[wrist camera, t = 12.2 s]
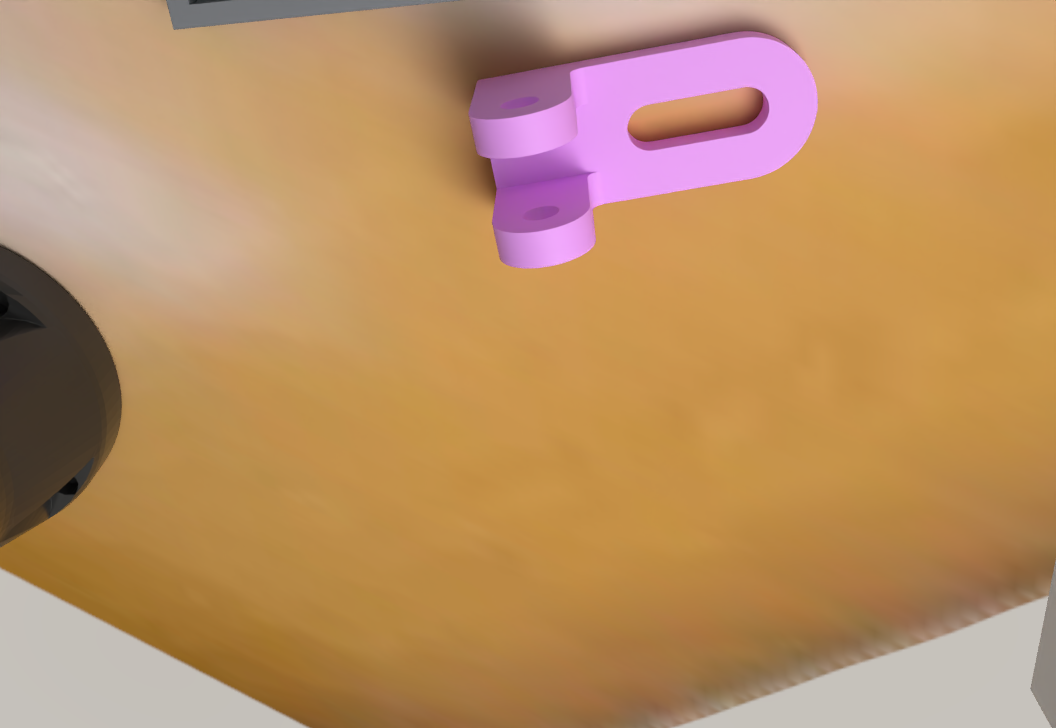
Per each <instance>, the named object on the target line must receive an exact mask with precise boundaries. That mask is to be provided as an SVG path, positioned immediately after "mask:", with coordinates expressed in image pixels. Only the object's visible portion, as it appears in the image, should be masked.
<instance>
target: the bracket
mask: <svg viewBox="0 0 1056 728" xmlns="http://www.w3.org/2000/svg"><path fill="white" fill-rule="evenodd" d="M742 87H753V88H756V89H758V90H760V91H761V92H762V94H763V106H762V109H761V112H760V113H759V115H758V116H757V117H756V118H755V119H754V120H753V121H752V122H750V123H748V124H745V125H741V126H736V127H730V128H725V129H719V130H713V131H708V132H702V133H696V134H691V135H685V136H679V137H674V138H668V139H662V140H657V141H651V142H643V141H639V140H637V139H635V138H634V137H632V136H631V135H630V133H629V132H628V130H627V126H628V122H629V119H630V117H631V115H632V114H633V113H634V112H635V111H636V110H637V109H638V108H640V107H642V106H644V105H648V104H654V103H659V102H665V101H670V100H676V99H681V98H687V97H693V96H698V95H704V94H709V93H715V92H720V91H726V90H731V89H737V88H742ZM817 103H818V100H817V90H816V85H815V81H814V78H813V76H812V74H811V71H810V70H809V68H808V66H807V65H806V63H805V62H804V61H803V59H802V58H801V57H800V56H799V55H798V54H797V53H796V52H795V51H794V50H793V49H791V48H790V47H789V46H788V45H787V44H786V43H784V42H783V41H781V40H779V39H778V38H775V37H773V36H771V35H768V34H765V33H761V32H754V31H740V32H733V33H727V34H722V35H717V36H711V37H706V38H701V39H695V40H690V41H685V42H679V43H674V44H669V45H663V46H658V47H653V48H647V49H642V50H637V51H631V52H626V53H621V54H615V55H610V56H605V57H599V58H594V59H588V60H583V61H578V62H572V63H567V64H562V65H556V66H551V67H546V68H540V69H535V70H530V71H524V72H519V73H514V74H508V75H503V76H498V77H492V78H487V79H482V80H477V84H476V87H475V91H474V95H473V98H472V102H471V105H470V109H469V118H470V123H471V127H472V132H473V137H474V141H475V146H476V151H477V153H478V154H479V155H480V156H482V157H486V158H490V159H491V164H492V169H493V174H494V178H495V183H496V188H497V192H496V199H495V206H494V213H493V220H492V224H493V229H494V234H495V238H496V243H497V248H498V252H499V257H500V260H501V261H502V262H503V263H505V264H506V265H509V266H512V267H517V268H540V267H548V266H553V265H557V264H561V263H564V262H567V261H570V260H573V259H575V258H577V257H580V256H581V255H583V254H585V253H586V252H588V251H589V250H590V249H591V248H592V247H593V246H594V244H595V242H596V237H595V228H594V219H593V208H595V207H596V206H598V205H601V204H606V203H612V202H618V201H623V200H629V199H635V198H641V197H647V196H653V195H658V194H664V193H670V192H676V191H682V190H688V189H693V188H699V187H705V186H711V185H717V184H722V183H728V182H734V181H740V180H746V179H752V178H756V177H760V176H763V175H766V174H768V173H770V172H773V171H774V170H776V169H778V168H780V167H781V166H783V165H784V164H786V163H787V162H788V161H789V160H790V159H792V158H793V157H794V156H795V155H796V154H797V152H798V151H799V150H800V149H801V148H802V146H803V145H804V143H805V142H806V140H807V139H808V137H809V135H810V133H811V130H812V128H813V125H814V122H815V118H816V113H817Z"/></svg>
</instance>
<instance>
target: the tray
mask: <svg viewBox="0 0 1056 728" xmlns="http://www.w3.org/2000/svg"><path fill="white" fill-rule="evenodd" d="M166 1H167V5H168V9H169V13H170V17H171V21H172V24H173V28H174V30H176V29H185V28H195V27H205V26H215V25H224V24H234V23H244V22H254V21H263V20H273V19H283V18H293V17H302V16H312V15H322V14H332V13H341V12H351V11H361V10H371V9H380V8H390V7H400V6H410V5H419V4H429V3H439V2H449V1H458V0H166Z"/></svg>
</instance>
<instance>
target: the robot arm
mask: <svg viewBox="0 0 1056 728" xmlns="http://www.w3.org/2000/svg"><path fill="white" fill-rule="evenodd" d="M121 408H122V404H121V391H120V384H119V379H118V375H117V372H116V368H115V365H114V362H113V360H112V357H111V354H110V352H109V350H108V348H107V346H106V344H105V342H104V340H103V338H102V337H101V335H100V333H99V331H98V330H97V328H96V327H95V325H94V324H93V322H92V321H91V320H90V318H89V317H88V316H87V314H86V313H85V312H84V310H83V309H82V308H81V307H80V306H79V305H78V303H77V302H76V301H75V300H74V299H73V298H72V297H71V296H70V295H69V294H68V293H67V292H66V291H65V290H64V289H63V288H62V287H61V286H60V285H58V284H57V283H56V282H55V281H54V280H52V279H51V278H50V277H49V276H48V275H46V274H45V273H44V272H42V271H41V270H39V269H38V268H37V267H35V266H34V265H32V264H31V263H29V262H28V261H26V260H24V259H23V258H21V257H19V256H17V255H16V254H14V253H12V252H10V251H8V250H6V249H4V248H2V247H0V547H2V546H4V545H5V544H7V543H9V542H10V541H12V540H14V539H15V538H17V537H19V536H20V535H22V534H24V533H25V532H27V531H29V530H30V529H32V528H34V527H35V526H37V525H39V524H40V523H42V522H44V521H46V520H47V519H49V518H50V517H52V516H54V515H55V514H57V513H58V512H60V511H61V510H63V509H64V508H65V507H67V506H68V505H69V504H70V503H71V502H72V501H74V500H75V499H76V498H77V497H78V496H79V495H80V494H81V493H82V492H83V490H84V489H85V488H86V487H87V486H88V484H89V483H90V482H91V480H92V479H93V477H94V476H95V474H96V473H97V472H98V470H99V469H100V467H101V466H102V464H103V463H104V461H105V460H106V458H107V457H108V455H109V453H110V452H111V450H112V448H113V445H114V443H115V440H116V437H117V435H118V431H119V426H120V420H121ZM1031 691H1032V693H1033V694H1034V696H1035V698H1036V700H1037V702H1038V704H1039V705H1040V707H1041V709H1042V711H1043V713H1044V714H1045V716H1046V718H1047V720H1048V721H1049V723H1050V725H1051V727H1052V728H1056V562H1055V567H1054V572H1053V577H1052V582H1051V587H1050V592H1049V597H1048V603H1047V608H1046V613H1045V618H1044V623H1043V628H1042V633H1041V638H1040V643H1039V648H1038V653H1037V658H1036V663H1035V669H1034V673H1033V679H1032V684H1031Z"/></svg>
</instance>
